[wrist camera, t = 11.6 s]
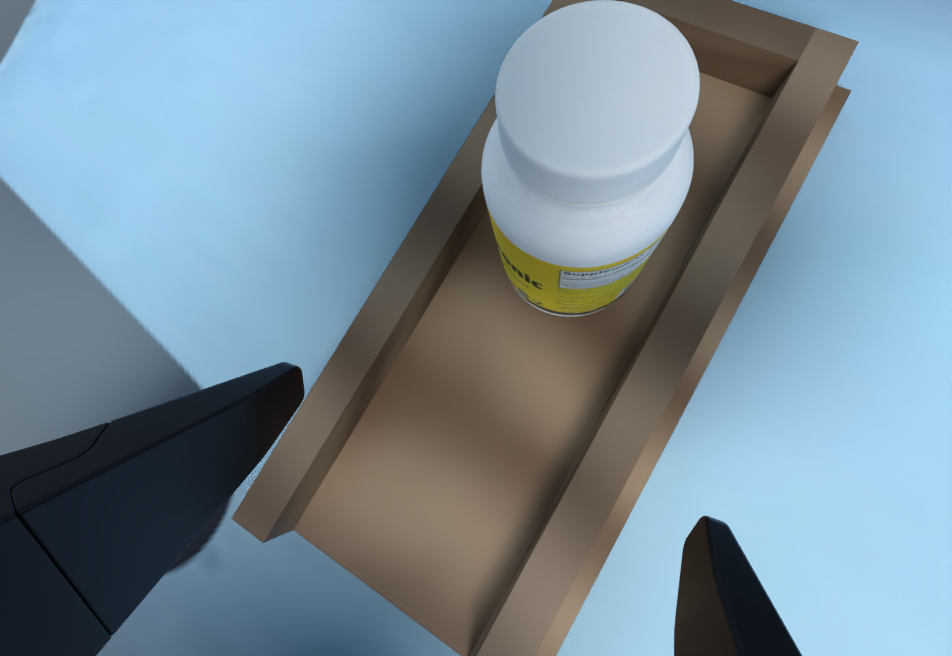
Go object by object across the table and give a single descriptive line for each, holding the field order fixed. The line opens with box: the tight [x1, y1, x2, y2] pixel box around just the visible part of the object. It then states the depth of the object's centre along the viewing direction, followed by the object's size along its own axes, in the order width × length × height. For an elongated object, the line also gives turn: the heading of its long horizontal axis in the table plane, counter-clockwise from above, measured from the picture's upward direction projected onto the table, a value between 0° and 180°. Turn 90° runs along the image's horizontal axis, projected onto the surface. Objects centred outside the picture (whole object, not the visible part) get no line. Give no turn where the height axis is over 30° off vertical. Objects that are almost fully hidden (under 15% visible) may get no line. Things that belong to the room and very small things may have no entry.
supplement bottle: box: [481, 0, 700, 317], centre depth 14 cm, size 5×5×10 cm
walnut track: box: [231, 0, 858, 656], centre depth 18 cm, size 26×13×3 cm, turn 150°
